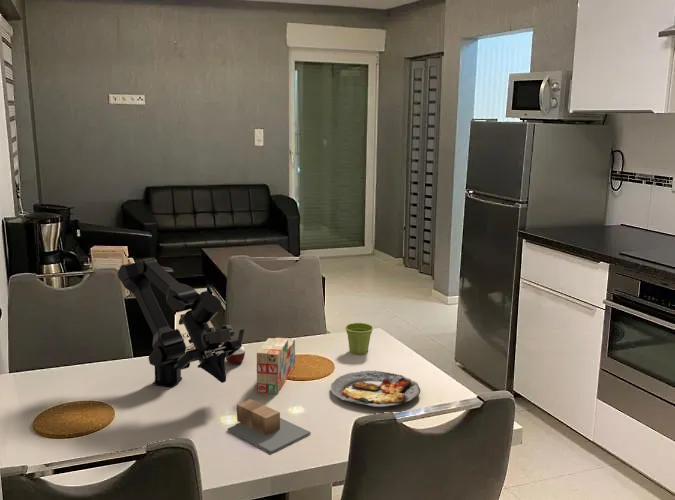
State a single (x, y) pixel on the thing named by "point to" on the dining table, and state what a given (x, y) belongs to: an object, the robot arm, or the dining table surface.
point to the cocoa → (237, 352)
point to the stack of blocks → (274, 364)
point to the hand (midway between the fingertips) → (224, 381)
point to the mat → (271, 435)
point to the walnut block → (258, 417)
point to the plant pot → (358, 337)
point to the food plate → (375, 388)
